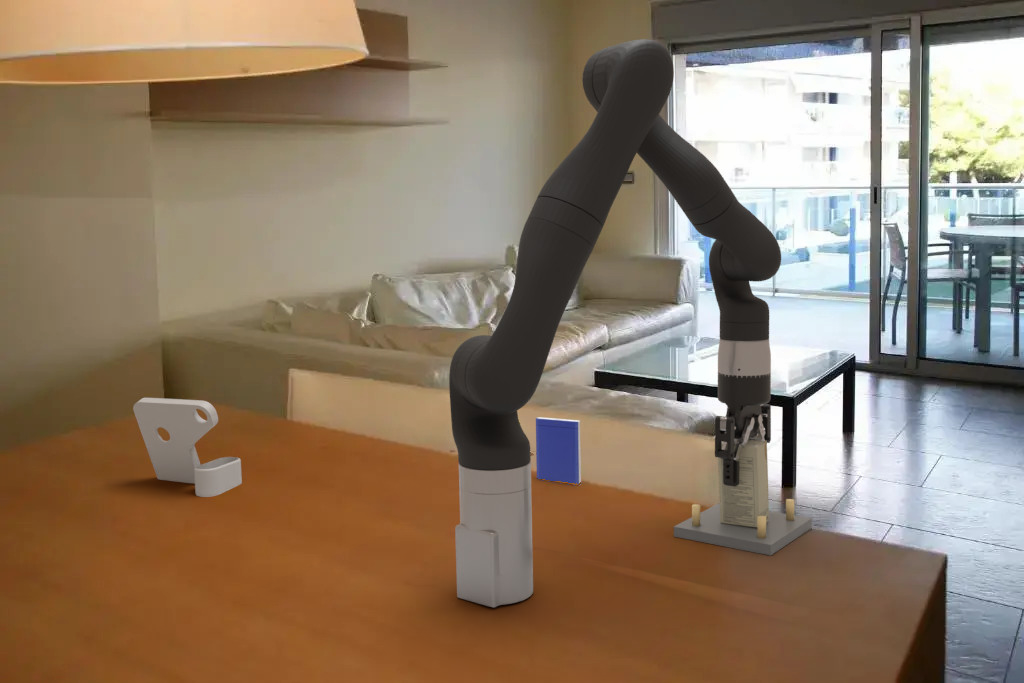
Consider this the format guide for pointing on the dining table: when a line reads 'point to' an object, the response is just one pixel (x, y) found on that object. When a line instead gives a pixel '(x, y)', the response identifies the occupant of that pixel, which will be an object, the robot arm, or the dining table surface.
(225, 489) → the phone holder
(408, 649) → the dining table surface
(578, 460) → the hard drive
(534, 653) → the dining table surface
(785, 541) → the standoff plate
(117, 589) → the dining table surface
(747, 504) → the skincare box
